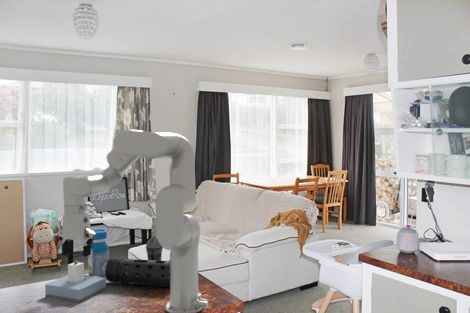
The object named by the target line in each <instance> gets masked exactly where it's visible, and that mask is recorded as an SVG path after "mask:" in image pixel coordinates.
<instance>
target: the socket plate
mask: <svg viewBox="0 0 470 313" xmlns="http://www.w3.org/2000/svg"><path fill="white" fill-rule="evenodd" d="M44 288H45V289H44V291H45V292H44V294H45V296H44V297H47V298H53V299H57V300H62V301H63V300H64V301H70V302H74V303H79V304H81V303H82V302H84V301H85V300H87V299H90V298H92V297H93V296H96V295H99V294H100V293H102V292H103V291H106V290H107V280H106V278H104V277H97V276H90V275H89V274H84V281H83V282H80V283H78V284H72V283H68V274H67V275H65V276H63V277H60V278H58V279H57V278H56V279H55V280H52V281H51V282H47V283H45V285H44Z"/></svg>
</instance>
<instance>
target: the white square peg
mask: <svg viewBox="0 0 470 313" xmlns="http://www.w3.org/2000/svg"><path fill="white" fill-rule="evenodd" d="M67 275H68V283H72V284H78V283H80V282H83V281H84V275H85V262H80V261H79V260H77V259H76V260H75V259H74V261H73V262H72V263H69V264H67Z"/></svg>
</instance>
